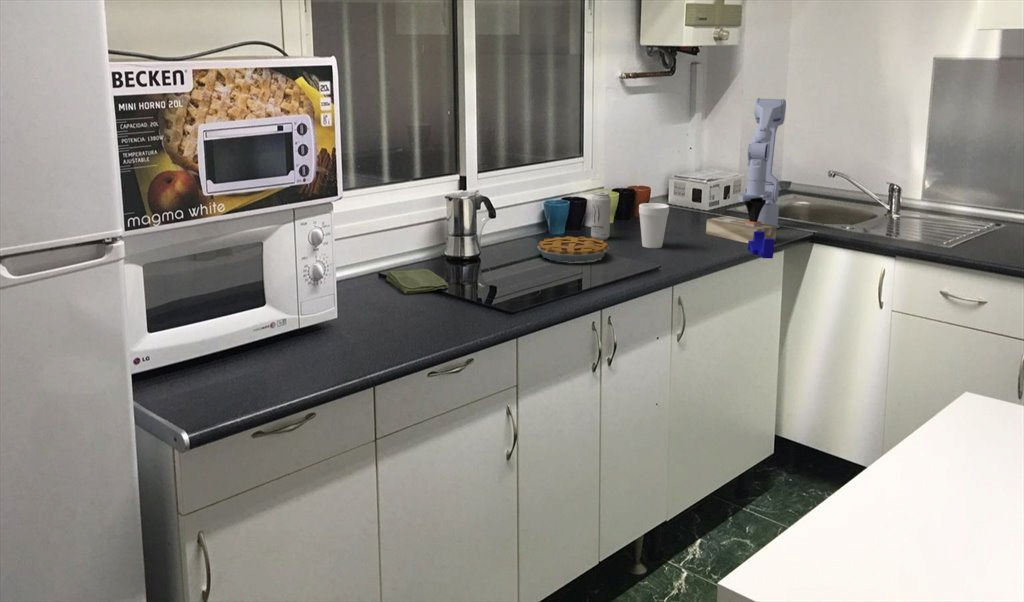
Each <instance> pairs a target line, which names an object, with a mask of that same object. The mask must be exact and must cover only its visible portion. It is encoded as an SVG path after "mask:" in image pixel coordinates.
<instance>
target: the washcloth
mask: <svg viewBox="0 0 1024 602" xmlns="http://www.w3.org/2000/svg"><path fill="white" fill-rule="evenodd" d="M386 274H387V275H386V281H387V282H389V283H390V284H391V285H393V286H394V287H396V288H397V289H398V290H400V291H401V292H403V293H404V294H406V295H412V294H419V293H420V294H421V293H428V292H432V291H438V290H437V289H442V288H448V289H449V285H448V282H447V281H446V280H445V279H444V278H442V277H441V276H439V275H437V274H436V273H434V272H433V271H432V270H430V269H428V268H427V269H426V268H423V269H420V268H419V269H411V270H390V271H389V270H388V273H386Z"/></svg>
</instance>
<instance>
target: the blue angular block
mask: <svg viewBox="0 0 1024 602" xmlns="http://www.w3.org/2000/svg"><path fill="white" fill-rule="evenodd" d="M764 235H765V232H763V231H754V235H753V241H748V243H747V251H749V252H750V253H751V254H752V255H758V256H760V257H761V258H762V259H773V258H774V251H775V249H774V248H775V241H774V239H773V238H764Z"/></svg>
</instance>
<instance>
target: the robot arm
mask: <svg viewBox="0 0 1024 602" xmlns="http://www.w3.org/2000/svg"><path fill="white" fill-rule="evenodd" d="M753 109H754V112H753V114H754V116H755V120H756V123H757V124H758V127H756V128H755V129H754V132H753V135H752V140H751V143H749V144H748V147H747V166H748V168H747V180H746V181H747V182H746V183H747V184H746V192H744V193H743V194H738V196H737V197H738V199H737V201H738V202H741V203H743V204H744V205H745V207H746V209H747V213H748V214H747V215H748V218H749V219H748V220H750V221H752V222H757V221H761V223H764V224H769V225H774V226H777V227H776V229H780V225H778V224H779V223H778V222H779V213H780V212H779V211H780V210H779V205H778V204H777V203H776V202H777V201H778V198H779V193H780V192H779V191H780V187H779V186H780V181H779V179H778V178H777V177H776V176H774V174H773V163H774V154H775V146H776V145H775V143H776V135H777V130H778V128H779V126H782V125H783V124H784V122H785V119H786V109H787V101H786V99H785V98H782V99H781V98H779V99H778V98H760V97H758V98H756V100H755V102H754V108H753Z"/></svg>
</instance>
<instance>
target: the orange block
mask: <svg viewBox="0 0 1024 602" xmlns="http://www.w3.org/2000/svg"><path fill="white" fill-rule="evenodd" d="M748 220H749V221H745V225H747V226H752V227H757V226H761V221H757V222H752V221H750V219H748Z"/></svg>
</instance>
